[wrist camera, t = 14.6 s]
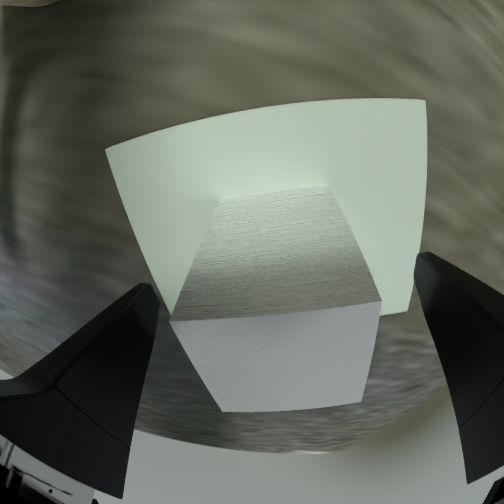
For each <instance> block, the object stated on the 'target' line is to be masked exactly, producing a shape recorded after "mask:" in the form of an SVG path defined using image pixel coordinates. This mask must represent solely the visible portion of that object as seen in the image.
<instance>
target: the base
mask: <svg viewBox="0 0 504 504" xmlns="http://www.w3.org/2000/svg"><path fill="white" fill-rule="evenodd" d="M56 1H59V0H0V5H5V6H25V7H39V6H44V5H48V4H51V3H53V2H56Z"/></svg>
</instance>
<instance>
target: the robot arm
mask: <svg viewBox="0 0 504 504" xmlns="http://www.w3.org/2000/svg"><path fill="white" fill-rule="evenodd" d="M413 276H414V282H415V285H416V288H417V291H418V295H419V298H420V302H421V305H422V309H423V312H424V316H425V319H426V321H427V324H428V327H429V330H430V332H431V335H432V338H433V341H434V343H435V346H436V349H437V352H438V355H439V358H440V361H441V364H442V367H443V371H444V374H445V377H446V381H447V384H448V388H449V391H450V395H451V399H452V403H453V407H454V410H455V415H456V419H457V424H458V427H459V434H460V440H461V445H462V451H463V457H464V463H465V471H466V480H467V484H470V483H472V482H474V481H476V480H478V479H480V478H482V477H484V476H486V475H488V474H490V473H491V472H493V471H495V470H497V469H499V468H500V467H502V466H504V295H503V294H501V293H500V292H498V291H496V290H495V289H493V288H492V287H490V286H488V285H487V284H485V283H483V282H482V281H480V280H479V279H477V278H475V277H473V276H472V275H470V274H468V273H467V272H465V271H463V270H461V269H460V268H458V267H456V266H454V265H453V264H451V263H449V262H447V261H446V260H444V259H442V258H440V257H438V256H436V255H435V254H433V253H431V252H428V251H427V252H420V253H418V254H417V256H416V262H415V268H414V274H413ZM159 308H160V303H159V299H158V297H157V295H156V293H155V291H154V289H153V287H152V285H151V284H150V283H140V284H138V285H136V286H135V287H134V288H132V289H131V290H130V291H128V292H127V293H126V294H124V295H123V296H122V297H120V298H119V299H118V300H116V301H115V302H114V303H113V304H111V305H110V306H109V307H107V308H106V309H105V310H103V311H102V312H101V313H100V314H98V315H97V316H96V317H94V318H93V319H92V320H91V321H89V322H88V323H87V324H86V325H84V326H83V327H82V328H81V329H79V330H78V331H77V332H76V333H74V334H73V335H72V336H71V337H70V338H68V339H67V340H66V341H64V342H63V343H62V344H61V345H59V346H58V347H57V348H56V349H54V350H53V351H52V352H50V353H49V354H48V355H46V356H45V357H44V358H42V359H41V360H40V361H38V362H37V363H36V364H34V365H33V366H31V367H30V368H29V369H27V370H26V371H25V372H23V373H22V374H21V375H19V376H17V377H15V378H12V379H8V380H0V504H98V502H97V500H96V499H94V498H93V496H94V492H95V489H96V490H98V491H101V492H103V493H106V494H108V495H111V496H113V497H116V498H119V499H122V497H123V492H124V485H125V478H126V471H127V465H128V459H129V453H130V446H131V441H132V436H133V431H134V426H135V421H136V416H137V411H138V406H139V402H140V397H141V393H142V388H143V384H144V380H145V376H146V372H147V367H148V363H149V360H150V356H151V352H152V348H153V343H154V338H155V332H156V326H157V319H158V313H159ZM483 504H504V476H503V477H502V478H500V479H498V480H497V481H495V482H494V484H493V486H492V488H491V489H490V491H489V493H488V495H487V497H486V499H485V500H484V502H483Z"/></svg>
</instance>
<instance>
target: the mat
mask: <svg viewBox="0 0 504 504" xmlns="http://www.w3.org/2000/svg"><path fill="white" fill-rule="evenodd" d="M105 151H106V154H107V157H108V161H109V164H110V167H111V170H112V173H113V176H114V179H115V182H116V185H117V188H118V191H119V194H120V196H121V199H122V202H123V205H124V207H125V210H126V213H127V216H128V218H129V221H130V223H131V226H132V228H133V231H134V234H135V236H136V238H137V241H138V243H139V246H140V248H141V251H142V253H143V255H144V258H145V260H146V262H147V265H148V267H149V269H150V272H151V274H152V276H153V278H154V280H155V283H156V285H157V287H158V289H159V291H160V293H161V296H162V298H163V300H164V302H165V304H166V306H167V308H168V310H169V312H170V314H171V315H172V312H173V310H174V307H175V305H176V302H177V299H178V297H179V294H180V292H181V289H182V287H183V284H184V282H185V279H186V277H187V274H188V272H189V270H190V267H191V265H192V262H193V260H194V258H195V255H196V253H197V250H198V248H199V246H200V243H201V241H202V239H203V236H204V234H205V232H206V229H207V227H208V225H209V223H210V220H211V218H212V216H213V213H214V211H215V209H216V207H217V205H218V202H219V200H224V199H231V198H237V197H243V196H250V195H256V194H263V193H270V192H277V191H284V190H292V189H300V188H308V187H316V186H325V185H329V186H330V188H331V190H332V192H333V194H334V196H335V198H336V200H337V202H338V204H339V206H340V208H341V210H342V212H343V214H344V216H345V218H346V220H347V222H348V224H349V226H350V228H351V230H352V232H353V234H354V237H355V239H356V241H357V243H358V245H359V247H360V250H361V252H362V254H363V256H364V259H365V261H366V263H367V266H368V268H369V270H370V273H371V275H372V277H373V280H374V282H375V285H376V287H377V290H378V292H379V295H380V297H381V300H382V304H381V311H380V316H382V315H388V314H393V313H399V312H404V311H407V310H408V306H409V302H410V298H411V293H412V288H413V283H414V276H413V274H414V268H415V262H416V256H417V254H418V253H419V249H420V243H421V235H422V227H423V218H424V208H425V196H426V178H427V119H426V103H425V101H424V100H418V99H394V98H364V99H338V100H323V101H311V102H301V103H292V104H284V105H276V106H269V107H263V108H256V109H250V110H245V111H239V112H234V113H229V114H224V115H219V116H214V117H210V118H205V119H201V120H197V121H193V122H189V123H185V124H181V125H177V126H173V127H170V128H166V129H163V130H159V131H156V132H153V133H149V134H146V135H143V136H140V137H137V138H134V139H131V140H128V141H125V142H122V143H119V144H116V145H113V146H111V147H109V148H107V149H105Z"/></svg>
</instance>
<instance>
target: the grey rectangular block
mask: <svg viewBox="0 0 504 504" xmlns="http://www.w3.org/2000/svg"><path fill="white" fill-rule="evenodd" d="M381 304H382V300H381V297H380V295H379V292H378V290H377V287H376V285H375V282H374V280H373V277H372V275H371V273H370V270H369V268H368V266H367V263H366V261H365V259H364V256H363V254H362V252H361V250H360V247H359V245H358V243H357V241H356V239H355V237H354V234H353V232H352V230H351V228H350V226H349V224H348V222H347V220H346V218H345V216H344V214H343V212H342V210H341V208H340V206H339V204H338V202H337V200H336V198H335V196H334V194H333V192H332V190H331V188H330V186H329V185H325V186H316V187H308V188H300V189H292V190H284V191H277V192H270V193H263V194H256V195H250V196H243V197H237V198H231V199H224V200H219V202H218V205H217V207H216V209H215V211H214V213H213V216H212V218H211V220H210V223H209V225H208V227H207V229H206V232H205V234H204V236H203V239H202V241H201V243H200V246H199V248H198V250H197V253H196V255H195V258H194V260H193V262H192V265H191V267H190V270H189V272H188V274H187V277H186V279H185V282H184V284H183V287H182V289H181V292H180V294H179V297H178V299H177V302H176V305H175V307H174V310H173V312H172V315H171V317H170V320H169V323H170V324H171V326H172V328H173V330H174V332H175V334H176V336H177V337H178V339H179V341H180V343H181V345H182V346H183V348H184V350H185V352H186V353H187V355H188V357H189V359H190V360H191V362H192V364H193V366H194V367H195V369H196V371H197V372H198V374H199V376H200V377H201V379H202V381H203V382H204V384H205V385H206V387H207V389H208V390H209V392H210V393H211V395H212V396H213V398H214V400H215V401H216V403H217V404H218V406H219V407H220V409H221V410H222V412H268V411H288V410H301V409H312V408H321V407H330V406H338V405H345V404H351V403H357V402H361V400H362V396H363V393H364V389H365V385H366V381H367V377H368V373H369V368H370V364H371V359H372V355H373V350H374V345H375V340H376V334H377V329H378V323H379V317H380V311H381Z"/></svg>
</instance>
